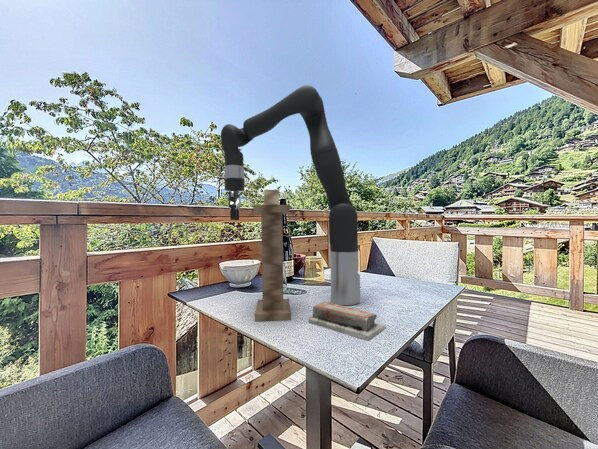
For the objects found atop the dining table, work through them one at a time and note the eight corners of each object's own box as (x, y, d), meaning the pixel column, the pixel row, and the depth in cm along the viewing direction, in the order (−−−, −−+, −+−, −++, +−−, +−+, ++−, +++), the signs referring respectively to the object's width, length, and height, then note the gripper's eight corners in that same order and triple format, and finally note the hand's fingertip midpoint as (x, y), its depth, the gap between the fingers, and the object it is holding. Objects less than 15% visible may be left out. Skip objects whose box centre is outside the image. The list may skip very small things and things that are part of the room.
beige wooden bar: (278, 209, 96) (278, 197, 96) (278, 204, 72) (278, 189, 72) (267, 209, 95) (267, 198, 95) (264, 204, 71) (263, 189, 71)
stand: (288, 304, 87) (287, 207, 87) (291, 320, 73) (289, 204, 73) (258, 305, 86) (257, 208, 86) (254, 321, 72) (253, 205, 72)
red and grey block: (306, 306, 72) (328, 298, 79) (307, 324, 72) (328, 314, 79) (367, 321, 60) (386, 310, 67) (368, 343, 60) (386, 329, 67)
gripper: (242, 175, 96) (242, 219, 96) (245, 181, 110) (246, 220, 110) (221, 175, 95) (221, 219, 95) (227, 181, 109) (228, 220, 109)
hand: (235, 220), depth 103 cm, fingers open, 8 cm apart
